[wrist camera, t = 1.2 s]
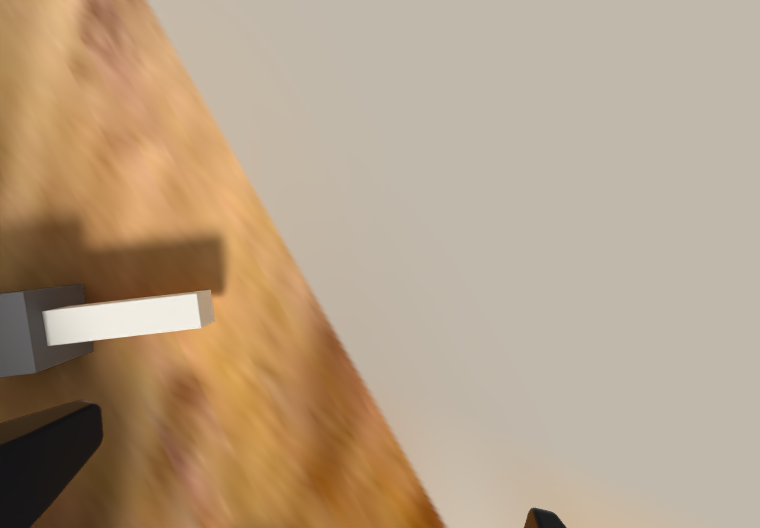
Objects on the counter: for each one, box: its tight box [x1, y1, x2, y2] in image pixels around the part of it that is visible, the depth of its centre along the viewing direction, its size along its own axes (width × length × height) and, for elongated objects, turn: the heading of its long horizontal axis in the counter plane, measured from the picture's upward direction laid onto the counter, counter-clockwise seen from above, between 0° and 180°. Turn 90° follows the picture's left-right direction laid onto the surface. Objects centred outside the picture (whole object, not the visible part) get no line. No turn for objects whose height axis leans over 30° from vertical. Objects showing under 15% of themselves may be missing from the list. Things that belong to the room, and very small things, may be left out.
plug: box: [0, 284, 215, 377], centre depth 19 cm, size 13×4×4 cm, turn 96°
